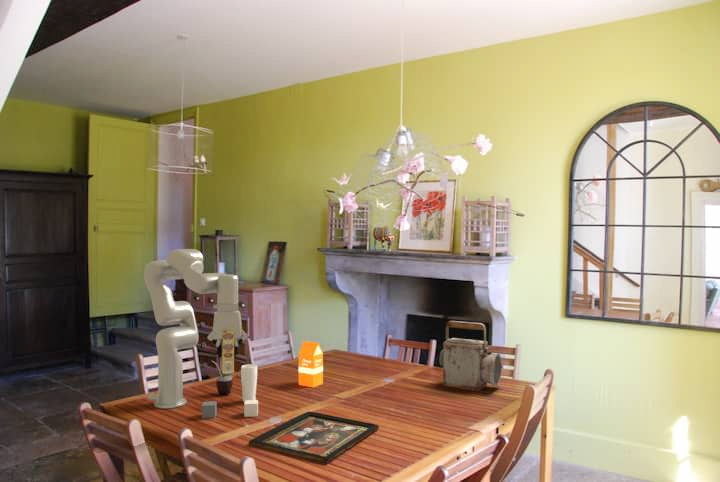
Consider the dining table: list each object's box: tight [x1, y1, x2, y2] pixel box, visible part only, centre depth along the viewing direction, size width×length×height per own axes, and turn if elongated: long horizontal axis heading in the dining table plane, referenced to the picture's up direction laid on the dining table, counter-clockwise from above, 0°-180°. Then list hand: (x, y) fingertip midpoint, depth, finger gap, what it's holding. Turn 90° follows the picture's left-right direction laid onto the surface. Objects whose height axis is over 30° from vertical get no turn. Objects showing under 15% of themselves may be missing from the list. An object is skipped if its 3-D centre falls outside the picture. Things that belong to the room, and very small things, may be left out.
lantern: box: [438, 320, 503, 392], centre depth 254 cm, size 16×27×30 cm, turn 60°
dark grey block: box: [201, 400, 218, 419], centre depth 210 cm, size 5×5×5 cm
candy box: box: [220, 331, 235, 375], centre depth 201 cm, size 9×4×15 cm, turn 19°
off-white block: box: [243, 399, 259, 418], centre depth 212 cm, size 5×5×5 cm
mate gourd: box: [211, 360, 234, 397], centre depth 239 cm, size 8×8×15 cm
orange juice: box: [298, 340, 324, 388], centre depth 256 cm, size 8×9×20 cm
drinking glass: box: [240, 363, 258, 403], centre depth 228 cm, size 7×7×15 cm
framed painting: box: [248, 411, 380, 465], centre depth 188 cm, size 38×35×3 cm
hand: (227, 356), depth 201 cm, fingers closed on candy box, 4 cm apart
